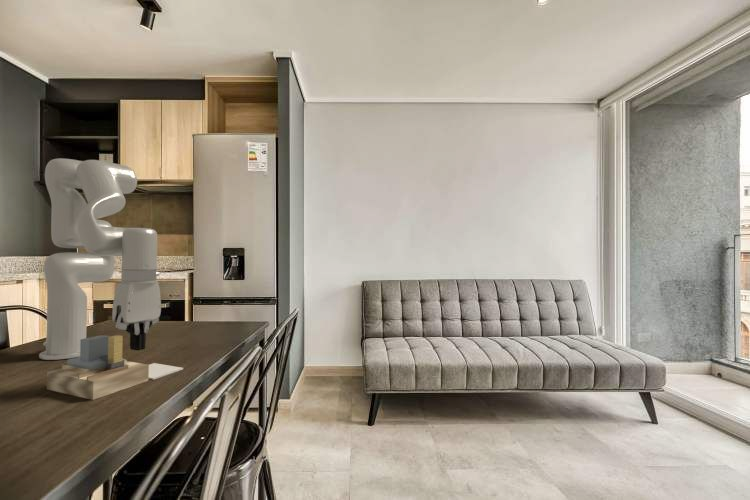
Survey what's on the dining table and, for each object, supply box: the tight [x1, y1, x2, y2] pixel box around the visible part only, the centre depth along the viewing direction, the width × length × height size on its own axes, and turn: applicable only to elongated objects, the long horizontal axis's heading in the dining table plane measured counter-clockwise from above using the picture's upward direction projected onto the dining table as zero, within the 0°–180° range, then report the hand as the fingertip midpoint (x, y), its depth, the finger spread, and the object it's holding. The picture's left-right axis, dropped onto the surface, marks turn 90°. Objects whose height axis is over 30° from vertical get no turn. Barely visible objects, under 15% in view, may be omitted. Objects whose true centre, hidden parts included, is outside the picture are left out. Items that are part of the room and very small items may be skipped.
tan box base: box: [46, 358, 150, 400], centre depth 89 cm, size 16×13×5 cm
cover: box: [66, 334, 110, 371], centre depth 90 cm, size 9×7×7 cm
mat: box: [148, 362, 184, 381], centre depth 99 cm, size 11×9×1 cm
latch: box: [100, 334, 124, 371], centre depth 88 cm, size 5×3×8 cm, turn 70°
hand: (137, 349), depth 93 cm, fingers closed
